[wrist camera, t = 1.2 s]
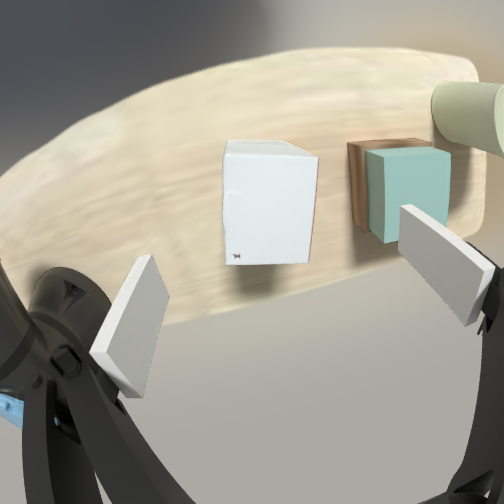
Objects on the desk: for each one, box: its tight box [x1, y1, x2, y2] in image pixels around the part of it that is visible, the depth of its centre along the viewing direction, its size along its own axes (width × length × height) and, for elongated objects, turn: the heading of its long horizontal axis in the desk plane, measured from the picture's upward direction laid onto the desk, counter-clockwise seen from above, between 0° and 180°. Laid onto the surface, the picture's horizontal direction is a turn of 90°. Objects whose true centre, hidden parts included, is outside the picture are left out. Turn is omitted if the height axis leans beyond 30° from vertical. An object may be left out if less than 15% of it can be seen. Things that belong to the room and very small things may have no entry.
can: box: [431, 80, 504, 158], centre depth 20 cm, size 9×9×12 cm
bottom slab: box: [347, 138, 432, 233], centre depth 29 cm, size 10×10×4 cm
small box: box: [222, 140, 319, 265], centre depth 24 cm, size 8×6×13 cm
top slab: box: [365, 147, 451, 244], centre depth 25 cm, size 9×9×4 cm
